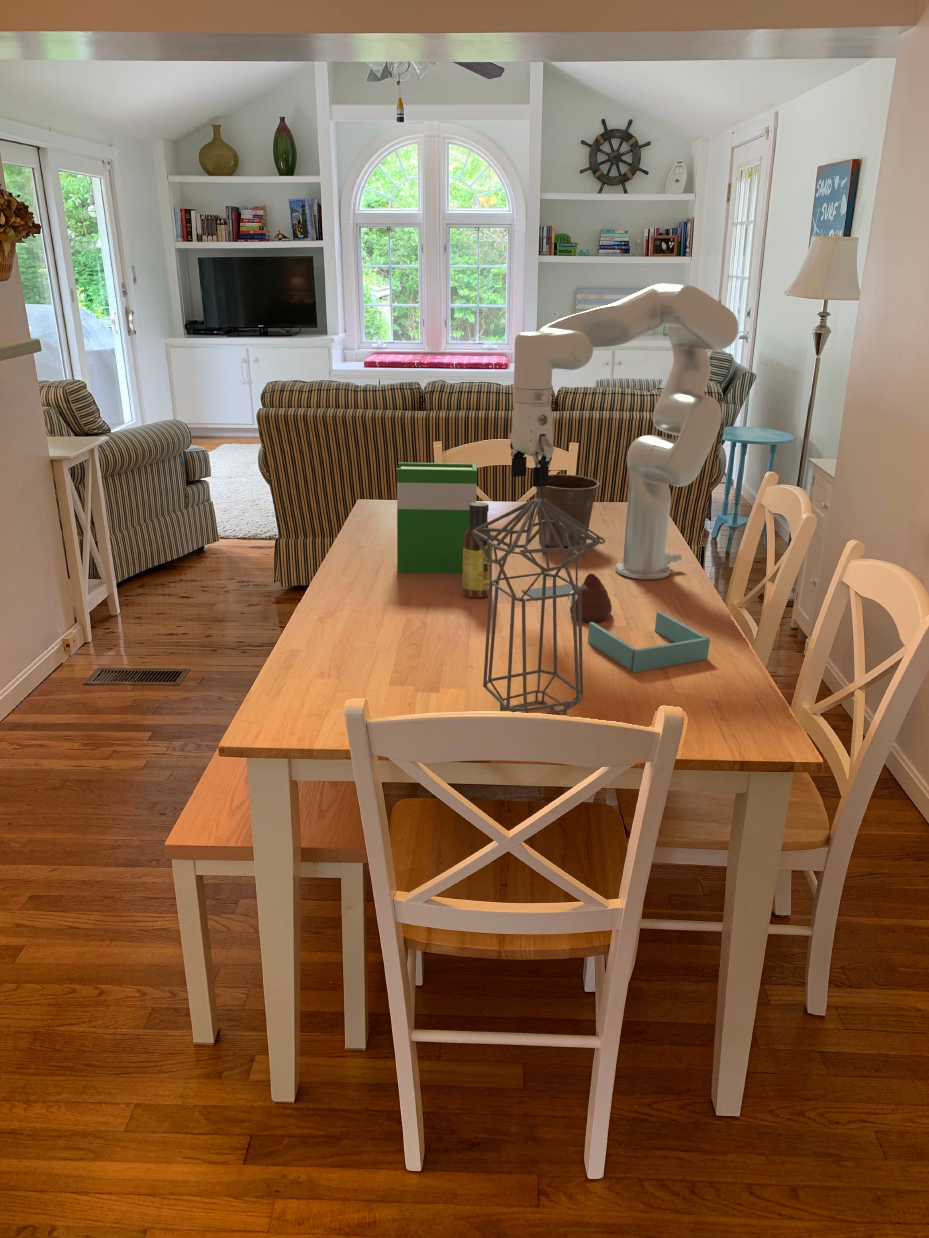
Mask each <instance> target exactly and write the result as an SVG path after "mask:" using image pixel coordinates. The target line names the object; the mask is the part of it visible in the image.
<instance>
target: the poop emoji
mask: <svg viewBox="0 0 929 1238" xmlns="http://www.w3.org/2000/svg"><path fill="white" fill-rule="evenodd" d="M579 587H581V588H583V589H584V590H583V591H581V606H582V623H586V624H587V623H588V624H589V622H594V623H595V624H598V623H601V622H603V621H606V620H607V618H608V617H609V616H610V614H611V613H612V608H613V607H612V602H611V599H610V597H609V594H608V590H607V589H606V588H605V586H604V584H603V583H602V581H601V580H600V579H599V577H598V576H596V574H594V573H592V572H590V573H588V574H587V575H586V577H585V579H584V581H583V583H582V584H580V586H579ZM572 592H573V590H572ZM572 592H571V593H572ZM575 598H576V621H578V595H575ZM567 599H568V602H569V603H570V605H571V606H570V607H569V612H570V615H571V617H572V618H573V613H572V595H571V596H567Z"/></svg>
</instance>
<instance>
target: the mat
mask: <svg viewBox="0 0 929 1238" xmlns="http://www.w3.org/2000/svg"><path fill="white" fill-rule="evenodd" d="M526 590H527V589H522V590H521V592H522V593H523V594H524V593H525V591H526ZM572 590H573V589H572V586H571V584H569V583H565V584H558V585H557V584H556V595H560V594H568V593H571V592H572ZM552 595H553V585H551V586H546V592H545V596H552ZM526 596H528V597H530V598H537V597H542V587H534V588H530V590H529V591H528V592H527V594H526Z"/></svg>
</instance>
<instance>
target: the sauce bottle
mask: <svg viewBox="0 0 929 1238" xmlns="http://www.w3.org/2000/svg"><path fill="white" fill-rule="evenodd" d="M489 509H490V508H489V503H487V502H482V501H476V502H473V503H470V505H469V510H470V521H469V523H470V525H469V527H468V529H467V530H466V532H465V534H464V546H463V574H461V575H462V576H461V578H462V581H461V584H462V585H461V586H462V594H463V595H464V596H465V597H468V598H475V599H480V598H485V597H488V596H489V582H490V561H488V559H487V557H486V556H485V554H484V552H483V551H482V549H481V548H480V546H479V544H478V543H477V541H476V539H475V538H474V536H473V535H472V533H471V532H472V531H473V530H475V529H476V528H477V527H479V526H481V525H483V524H485V523H487V522H488V519H489V518H488V516H489V515H488V514H489ZM485 528H489V526H487V527H485ZM478 533H479V532H478ZM487 533H489V534H491V532H487ZM480 534H481V533H480ZM482 535H483V534H482ZM484 536H485V535H484ZM486 537H487V536H486ZM478 538H479V539H480V541H481V542H482V544H483V546H484V547H485V549H486V551H487V552H488V548H487V541H486V540H484V539H482V538H480V537H478ZM488 538H489V537H488ZM490 539H491V538H489V540H490ZM490 554H491V559H493V547H492V546H491V545H490Z"/></svg>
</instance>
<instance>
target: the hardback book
mask: <svg viewBox="0 0 929 1238" xmlns="http://www.w3.org/2000/svg"><path fill="white" fill-rule="evenodd" d="M397 466H398V467H396V508H397V509H396V521H397V522H396V529H397V531H396V535H397V539H396V540H397V541H396V542H397V544H396V546H397V547H396V549H397V550H396V552H397V554H396V555H397V556H396V557H397V559H396V561H397V564H396V567H397V568H396V569H397V573H399V574H456V575H457V574H458V575H459V574H461V575H463V546H464V534H465V532H466V530H467V529H468V527H469V525H470V523H469V521H470V510H469V505H470V503H473V502H477V487H478V486H477V482H478V480H477V478H478V469H477V463H462V462H461V463H459V462H447V463H446V462H405V461H404V462H403V461H401V462H399V461H398V465H397Z"/></svg>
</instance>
